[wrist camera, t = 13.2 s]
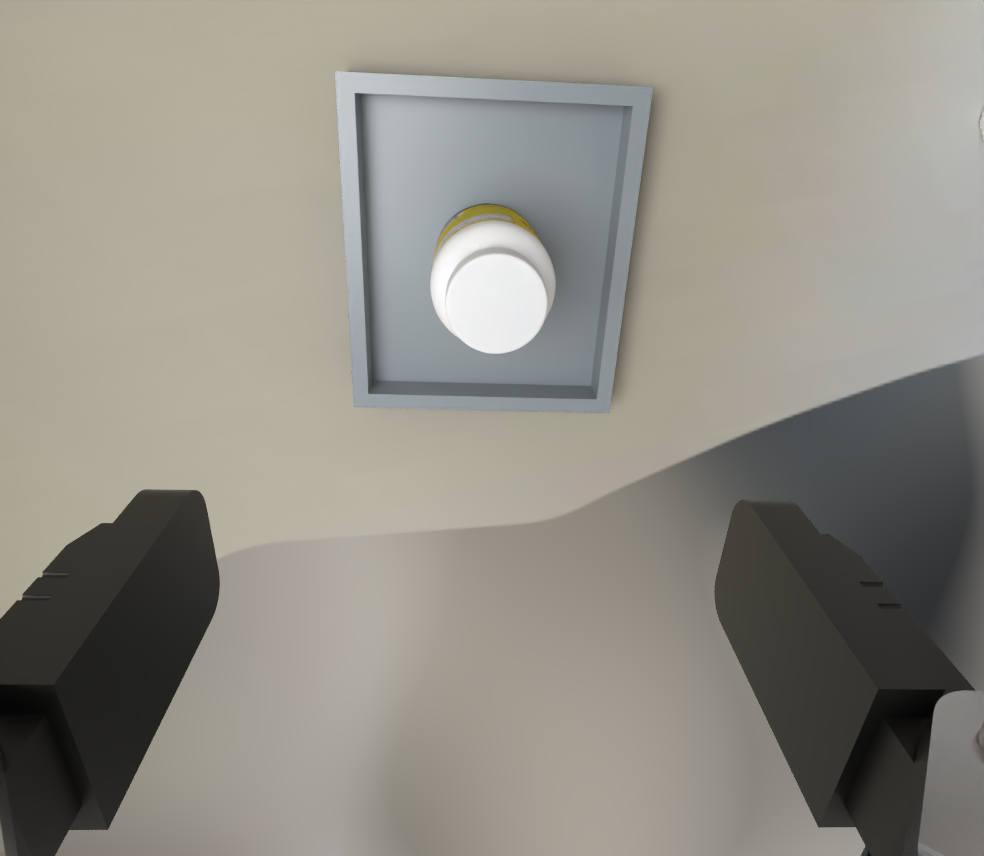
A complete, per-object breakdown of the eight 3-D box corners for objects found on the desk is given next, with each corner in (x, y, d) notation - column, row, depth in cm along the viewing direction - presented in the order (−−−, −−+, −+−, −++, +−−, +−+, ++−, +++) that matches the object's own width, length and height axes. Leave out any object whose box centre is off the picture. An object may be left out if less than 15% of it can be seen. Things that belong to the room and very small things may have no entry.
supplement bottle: (544, 299, 35) (570, 364, 26) (444, 312, 35) (436, 380, 26) (534, 193, 33) (560, 225, 24) (427, 207, 33) (413, 245, 24)
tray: (344, 73, 30) (334, 71, 28) (639, 88, 31) (653, 86, 29) (360, 389, 37) (353, 407, 35) (601, 395, 38) (609, 412, 36)
